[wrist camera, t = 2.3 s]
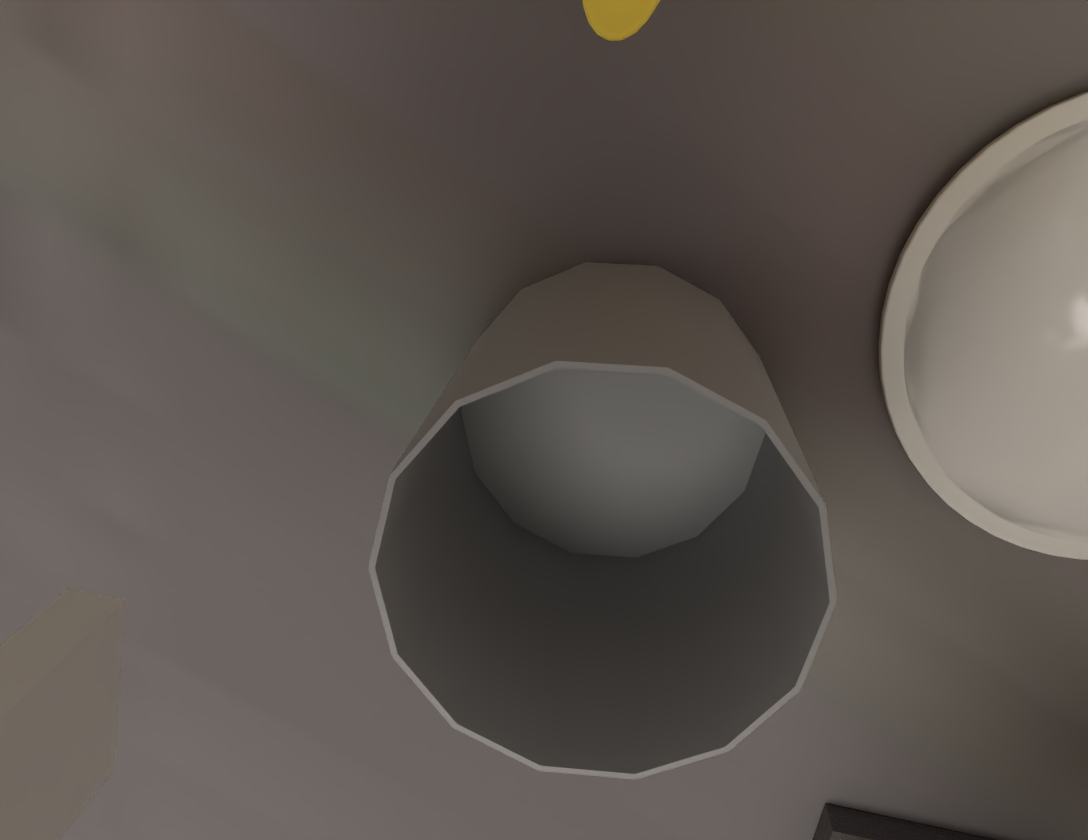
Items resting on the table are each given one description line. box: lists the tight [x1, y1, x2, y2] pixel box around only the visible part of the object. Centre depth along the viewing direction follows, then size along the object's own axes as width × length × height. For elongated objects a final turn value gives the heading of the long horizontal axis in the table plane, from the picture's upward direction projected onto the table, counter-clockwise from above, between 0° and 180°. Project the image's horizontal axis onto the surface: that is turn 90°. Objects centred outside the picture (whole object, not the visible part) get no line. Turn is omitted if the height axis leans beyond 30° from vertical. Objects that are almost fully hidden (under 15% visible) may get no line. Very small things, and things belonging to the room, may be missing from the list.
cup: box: [368, 262, 837, 779], centre depth 23 cm, size 8×8×10 cm
